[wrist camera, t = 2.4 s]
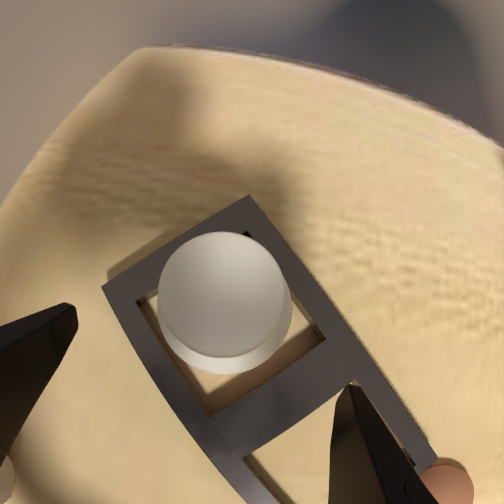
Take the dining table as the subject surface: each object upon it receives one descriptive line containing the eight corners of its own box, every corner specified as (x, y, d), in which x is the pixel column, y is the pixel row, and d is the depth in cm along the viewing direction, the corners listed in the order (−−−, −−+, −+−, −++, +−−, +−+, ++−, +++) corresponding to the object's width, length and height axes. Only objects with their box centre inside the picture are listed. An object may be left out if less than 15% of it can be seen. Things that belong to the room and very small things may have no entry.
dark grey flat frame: (300, 549, 14) (303, 557, 12) (108, 290, 19) (101, 286, 18) (429, 454, 16) (438, 457, 15) (248, 203, 21) (249, 194, 20)
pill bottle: (277, 366, 18) (316, 373, 9) (187, 371, 18) (135, 381, 9) (270, 278, 20) (296, 206, 11) (183, 283, 20) (137, 215, 10)
